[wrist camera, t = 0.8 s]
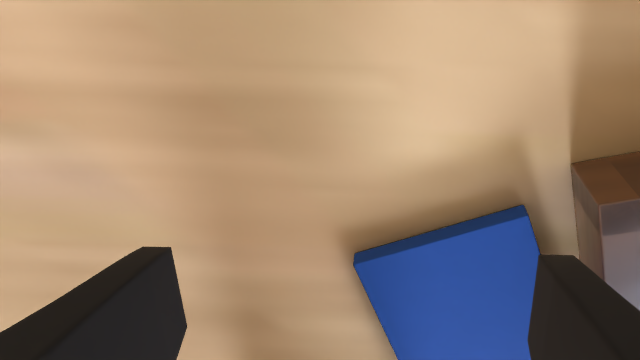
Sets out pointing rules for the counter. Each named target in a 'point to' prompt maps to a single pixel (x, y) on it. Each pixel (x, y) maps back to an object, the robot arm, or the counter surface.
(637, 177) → the corner guard
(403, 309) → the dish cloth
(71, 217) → the counter surface
